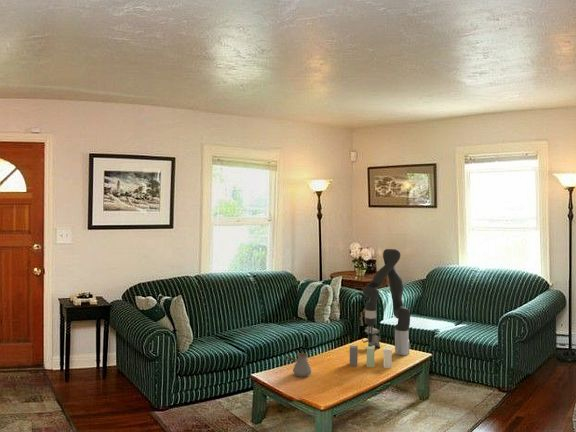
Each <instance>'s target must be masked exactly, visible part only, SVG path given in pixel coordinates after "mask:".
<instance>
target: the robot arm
mask: <svg viewBox="0 0 576 432" xmlns="http://www.w3.org/2000/svg"><path fill="white" fill-rule="evenodd" d="M382 259H383V262H384V265H383V266H382V267H381V268H379V269H378V271H377V272H376V273H375V274H374V277H372V279H371V281H370V282H369V283H368V284H367V285H366V286H365V287H364V288H363V295H364V297H367V298H370V300H367V301H365V313H364V323H365V325H367V326H366V327H367V329H368V333H367V340H368V342H372V334H373V328H374V325H377V303H378V299H379V295H380V291H379V289H378V288H380V287H382V285H383V283H384V281H385V280H386V278H387V279H388V285H389V290H390V294H391V295H390V296H391V300H392V312H393V316H394V318H396V319H397V324H395V326H394V354H395V355H398V356H408V355H410V340H409V328H410V326H411V325H410V323H411V311H410V309H408V308H407V307H405V306H404V304H403V299H402V298H403V293H404V283H403V278H402V277H401V276H400V274H399V272H398V270H397V269H396V268H395V266H396V265H397V263H398V262H399V261H400V259H401V252H400V250H399V249H397V248H385V249H384V250H383V253H382ZM368 337H369V339H368ZM368 342H367V343H368Z"/></svg>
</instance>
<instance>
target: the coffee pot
mask: <svg viewBox="0 0 576 432" xmlns="http://www.w3.org/2000/svg"><path fill="white" fill-rule="evenodd" d="M296 355H297V359H296V358H293V357H290V356H286V357H285V359H286V361H288V360H291V361H296V362H295V364H294V367H293V369H292V372H293V374H294V375H295V376H296V377H298V378H299V377H300V378H306V377H308V376H309V375H310V374H311V373H312V368H311V366H310V363H309V361H308V359H307V356H308V353H305V352H301V353H300V352H299V353H296Z"/></svg>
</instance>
